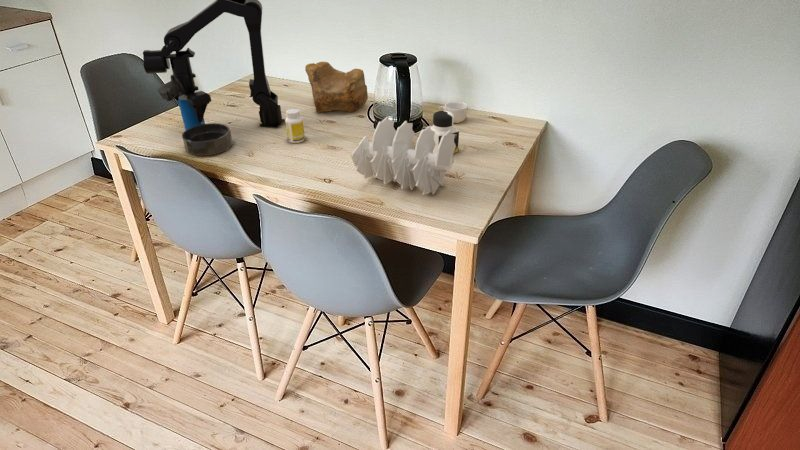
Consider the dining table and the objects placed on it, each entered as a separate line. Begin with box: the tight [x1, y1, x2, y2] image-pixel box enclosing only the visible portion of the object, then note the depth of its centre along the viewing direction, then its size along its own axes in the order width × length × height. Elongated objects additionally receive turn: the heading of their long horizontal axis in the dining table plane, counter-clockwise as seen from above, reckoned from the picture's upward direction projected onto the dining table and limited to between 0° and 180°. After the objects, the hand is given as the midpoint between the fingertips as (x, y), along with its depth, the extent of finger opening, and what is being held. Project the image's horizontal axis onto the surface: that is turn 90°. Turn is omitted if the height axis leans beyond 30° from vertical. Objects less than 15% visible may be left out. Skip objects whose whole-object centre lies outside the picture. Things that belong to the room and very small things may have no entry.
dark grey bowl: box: [181, 122, 234, 156], centre depth 166 cm, size 14×14×5 cm
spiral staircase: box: [350, 116, 456, 196], centre depth 141 cm, size 18×18×25 cm
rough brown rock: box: [304, 61, 369, 113], centre depth 189 cm, size 23×17×15 cm
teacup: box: [438, 100, 469, 124], centre depth 181 cm, size 10×8×5 cm
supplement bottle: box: [284, 108, 306, 144], centre depth 168 cm, size 5×5×10 cm
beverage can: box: [177, 95, 206, 131], centre depth 175 cm, size 6×6×12 cm
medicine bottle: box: [430, 110, 460, 154], centre depth 159 cm, size 7×7×12 cm
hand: (192, 118), depth 175 cm, fingers open, 9 cm apart
